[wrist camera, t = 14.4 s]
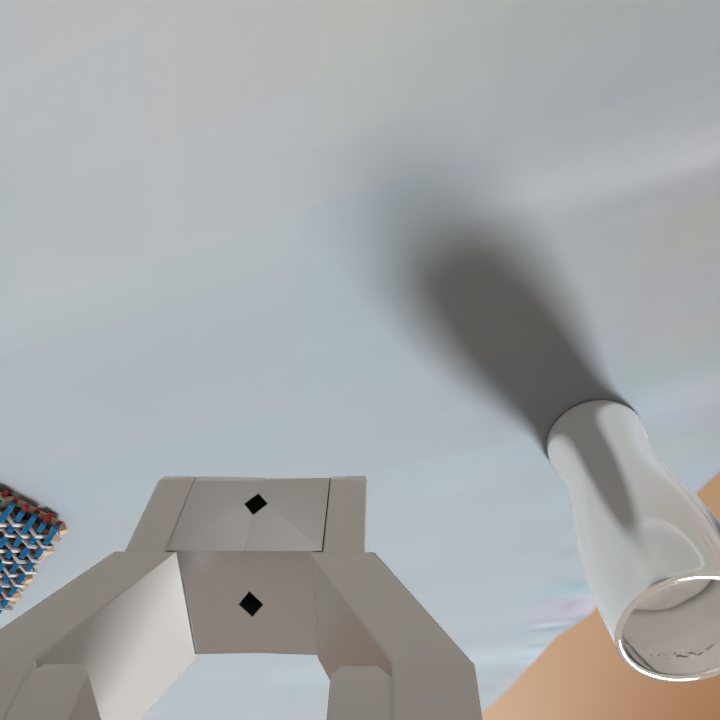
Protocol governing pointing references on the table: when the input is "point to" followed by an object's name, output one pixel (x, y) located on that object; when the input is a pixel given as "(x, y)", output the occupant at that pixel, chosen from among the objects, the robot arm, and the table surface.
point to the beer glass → (641, 543)
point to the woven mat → (22, 545)
